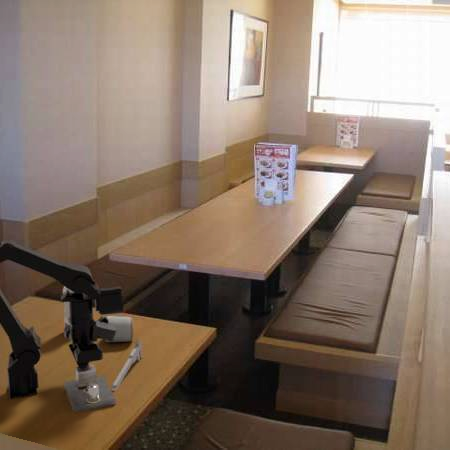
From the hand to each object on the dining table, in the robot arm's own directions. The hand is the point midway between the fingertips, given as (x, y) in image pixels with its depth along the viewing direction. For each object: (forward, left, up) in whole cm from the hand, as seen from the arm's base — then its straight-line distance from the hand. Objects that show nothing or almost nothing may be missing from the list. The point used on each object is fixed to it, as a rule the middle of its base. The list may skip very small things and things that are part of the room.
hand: (83, 373), depth 164 cm
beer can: (+4, +35, -3) cm, 35 cm away
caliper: (+12, +2, -4) cm, 12 cm away
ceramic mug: (+15, +25, -3) cm, 29 cm away
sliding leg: (0, -3, -1) cm, 3 cm away
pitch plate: (0, -7, -3) cm, 7 cm away
